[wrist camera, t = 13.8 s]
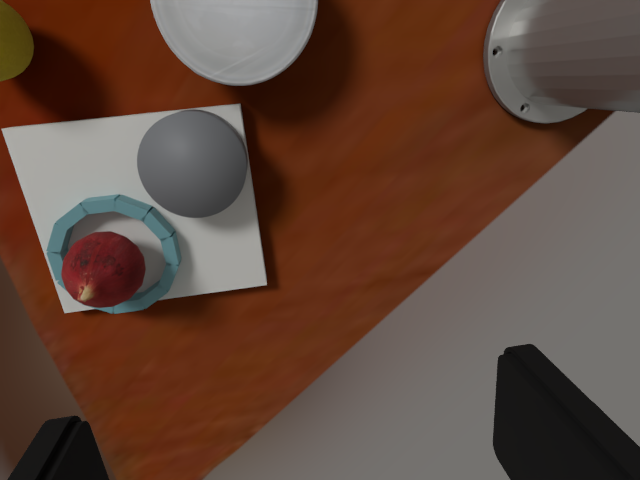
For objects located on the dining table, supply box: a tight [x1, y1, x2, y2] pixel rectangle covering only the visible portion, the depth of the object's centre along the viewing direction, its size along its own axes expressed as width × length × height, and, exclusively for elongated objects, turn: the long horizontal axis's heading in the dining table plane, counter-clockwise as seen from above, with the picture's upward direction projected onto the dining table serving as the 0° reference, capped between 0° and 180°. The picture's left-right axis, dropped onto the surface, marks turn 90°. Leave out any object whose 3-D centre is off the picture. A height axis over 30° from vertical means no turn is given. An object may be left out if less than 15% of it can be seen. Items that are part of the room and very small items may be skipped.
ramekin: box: [150, 0, 318, 86], centre depth 31 cm, size 11×11×5 cm
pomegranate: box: [61, 231, 146, 308], centre depth 34 cm, size 6×6×8 cm
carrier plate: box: [2, 103, 267, 314], centre depth 36 cm, size 18×16×4 cm
